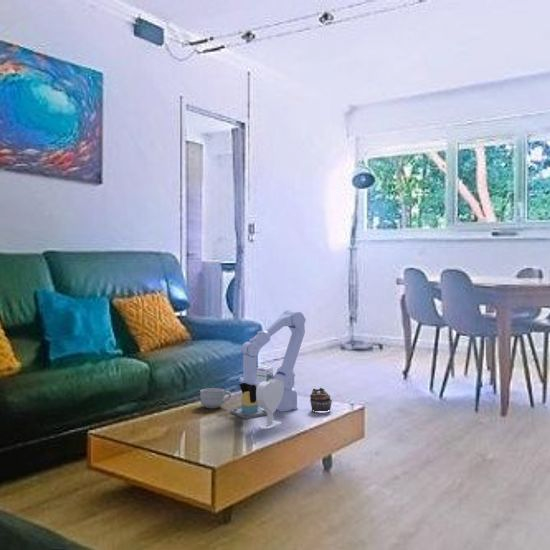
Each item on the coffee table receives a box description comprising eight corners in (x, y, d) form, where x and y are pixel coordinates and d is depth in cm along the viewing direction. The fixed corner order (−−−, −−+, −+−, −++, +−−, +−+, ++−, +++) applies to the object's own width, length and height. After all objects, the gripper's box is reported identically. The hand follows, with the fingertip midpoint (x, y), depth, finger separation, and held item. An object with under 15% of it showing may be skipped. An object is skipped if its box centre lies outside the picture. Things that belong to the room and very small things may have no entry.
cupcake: (320, 415, 265) (320, 392, 265) (305, 410, 273) (305, 388, 273) (336, 411, 272) (336, 389, 271) (321, 407, 279) (321, 385, 279)
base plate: (254, 408, 275) (254, 398, 275) (268, 414, 265) (269, 403, 265) (230, 412, 268) (230, 401, 268) (245, 418, 258) (245, 407, 258)
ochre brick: (251, 402, 270) (251, 390, 270) (257, 404, 266) (257, 392, 266) (241, 403, 267) (241, 391, 267) (247, 406, 263) (247, 393, 263)
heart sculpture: (275, 419, 258) (275, 376, 257) (285, 421, 255) (285, 378, 255) (254, 428, 245) (254, 383, 244) (264, 430, 242) (264, 384, 241)
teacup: (196, 409, 274) (196, 391, 274) (205, 403, 285) (205, 386, 284) (225, 411, 270) (225, 393, 270) (234, 405, 281) (234, 388, 280)
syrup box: (266, 398, 295) (266, 368, 294) (256, 396, 298) (256, 367, 298) (273, 396, 299) (273, 366, 299) (263, 394, 303) (263, 365, 302)
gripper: (233, 368, 270) (233, 398, 270) (251, 373, 258) (250, 405, 258) (247, 366, 274) (246, 396, 274) (265, 371, 262) (264, 403, 262)
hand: (249, 401), depth 266 cm, fingers closed on ochre brick, 5 cm apart
